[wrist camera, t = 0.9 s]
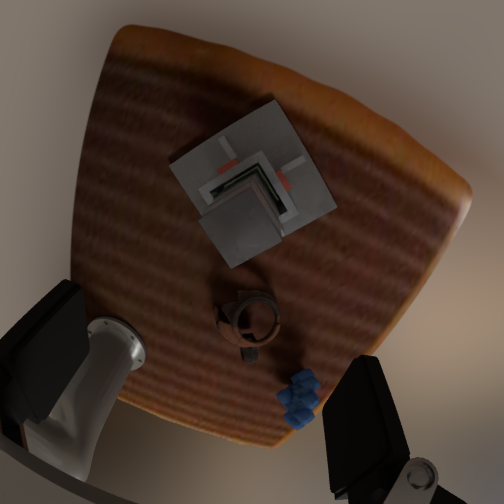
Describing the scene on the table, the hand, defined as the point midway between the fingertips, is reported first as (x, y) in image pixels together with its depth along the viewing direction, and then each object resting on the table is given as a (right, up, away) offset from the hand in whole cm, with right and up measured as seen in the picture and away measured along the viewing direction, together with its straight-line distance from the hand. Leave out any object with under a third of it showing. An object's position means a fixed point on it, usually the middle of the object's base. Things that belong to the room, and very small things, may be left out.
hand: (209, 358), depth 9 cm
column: (+2, +12, +27) cm, 30 cm away
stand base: (+2, +12, +29) cm, 31 cm away
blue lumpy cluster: (+9, -19, +41) cm, 46 cm away
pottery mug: (+1, -6, +36) cm, 37 cm away
